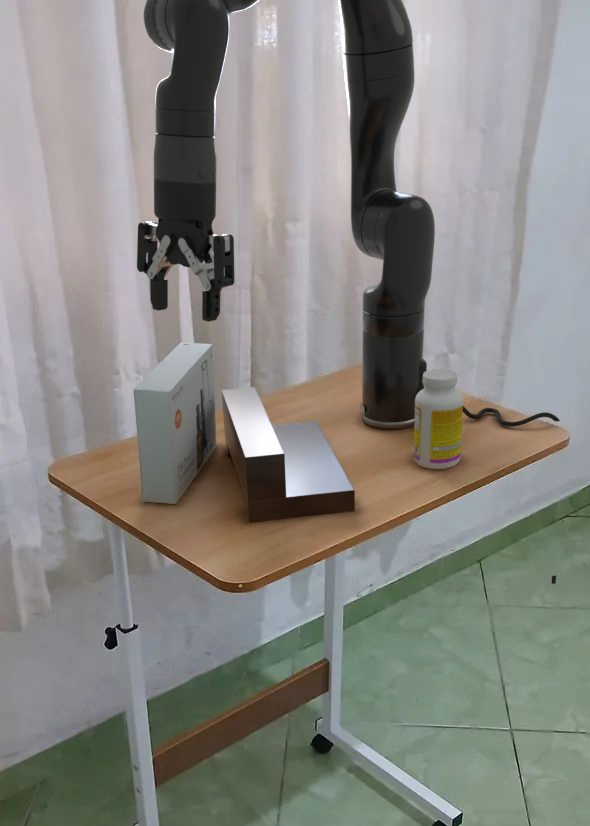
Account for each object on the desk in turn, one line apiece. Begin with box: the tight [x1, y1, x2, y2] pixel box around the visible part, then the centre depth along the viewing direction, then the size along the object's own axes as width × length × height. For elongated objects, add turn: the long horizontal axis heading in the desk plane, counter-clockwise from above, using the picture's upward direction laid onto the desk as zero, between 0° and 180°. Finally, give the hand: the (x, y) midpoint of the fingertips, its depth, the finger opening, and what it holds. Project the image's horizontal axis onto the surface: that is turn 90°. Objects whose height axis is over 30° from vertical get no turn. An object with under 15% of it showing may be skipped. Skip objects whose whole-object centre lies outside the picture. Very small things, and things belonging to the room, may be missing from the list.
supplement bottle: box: [413, 368, 464, 470], centre depth 144 cm, size 7×7×13 cm
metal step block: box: [220, 386, 356, 523], centre depth 142 cm, size 14×26×9 cm, turn 10°
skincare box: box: [133, 341, 218, 505], centre depth 142 cm, size 21×6×16 cm, turn 168°
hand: (184, 314), depth 131 cm, fingers open, 8 cm apart
